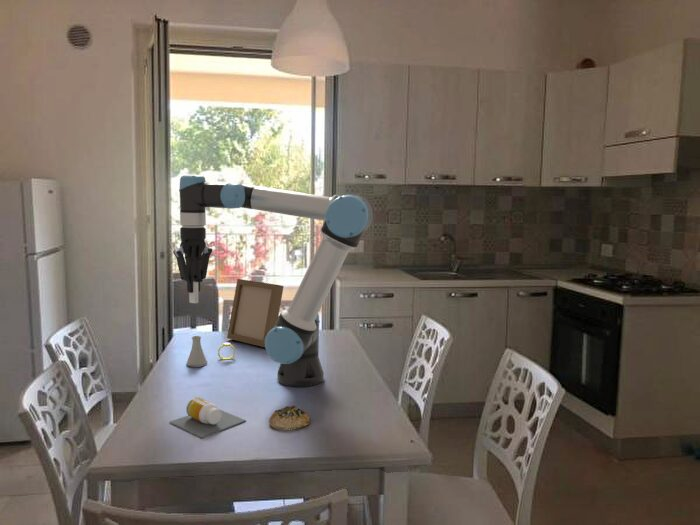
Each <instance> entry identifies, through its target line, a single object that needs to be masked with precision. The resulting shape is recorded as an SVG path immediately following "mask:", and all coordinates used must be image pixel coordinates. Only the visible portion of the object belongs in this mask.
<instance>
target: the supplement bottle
mask: <svg viewBox="0 0 700 525" xmlns="http://www.w3.org/2000/svg"><path fill="white" fill-rule="evenodd" d="M218 409H219V408H218V407H217V405H216V404H214V403H212V402H210V401H209V400H208V401H207V400H206V399H204V398H201V397H198V396H195V397H192V398H191V399H190V400H188V402H187V404H186V406H185V411H186V414H187V416H188V415H189V416H190V417H192V418H194V419H196V420H198V421H200V422H202V423H204V424H209V423H210V424H216V423H218V422H219V420H220V419H221V411H220V410H221V409H220V410H218Z"/></svg>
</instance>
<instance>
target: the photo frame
mask: <svg viewBox="0 0 700 525" xmlns="http://www.w3.org/2000/svg"><path fill="white" fill-rule="evenodd" d="M284 287H285V286H284V285H280V284H275V283H268V282H262V281H256V280H249V279H242V278H237V279H236V286H235V290H234V297H233V302H232V308H231V313H230V319H229V323H228V329H227V336H226V338H227V339H229V340H234V341H236V342H242V343H244V344H250V345H252V346H253V345H254V346H259V347H262V348H265V338H266V336H267V334H268V332H269V331H270V330H271V329H272V328H274V326H275V324H276V322H277V320H278V318H279V316H280V311H281V310H280V309H281V303H282V299H283V293H284Z"/></svg>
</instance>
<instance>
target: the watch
mask: <svg viewBox="0 0 700 525" xmlns="http://www.w3.org/2000/svg"><path fill="white" fill-rule="evenodd" d="M223 347H231V348H232V349H233V354H232V355H231V356H230V357H222V356H221V354H220V351H221V349H222V348H223ZM217 354H218V358H220V360H223V361H225V360H224V359H226V360H228V359H229V360H233V358H234V357H235V355H236V350H235V347H234V346H233V345H232V344H231V342H223V343H222V344H221V345H220V346H219V348H218V350H217Z"/></svg>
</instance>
